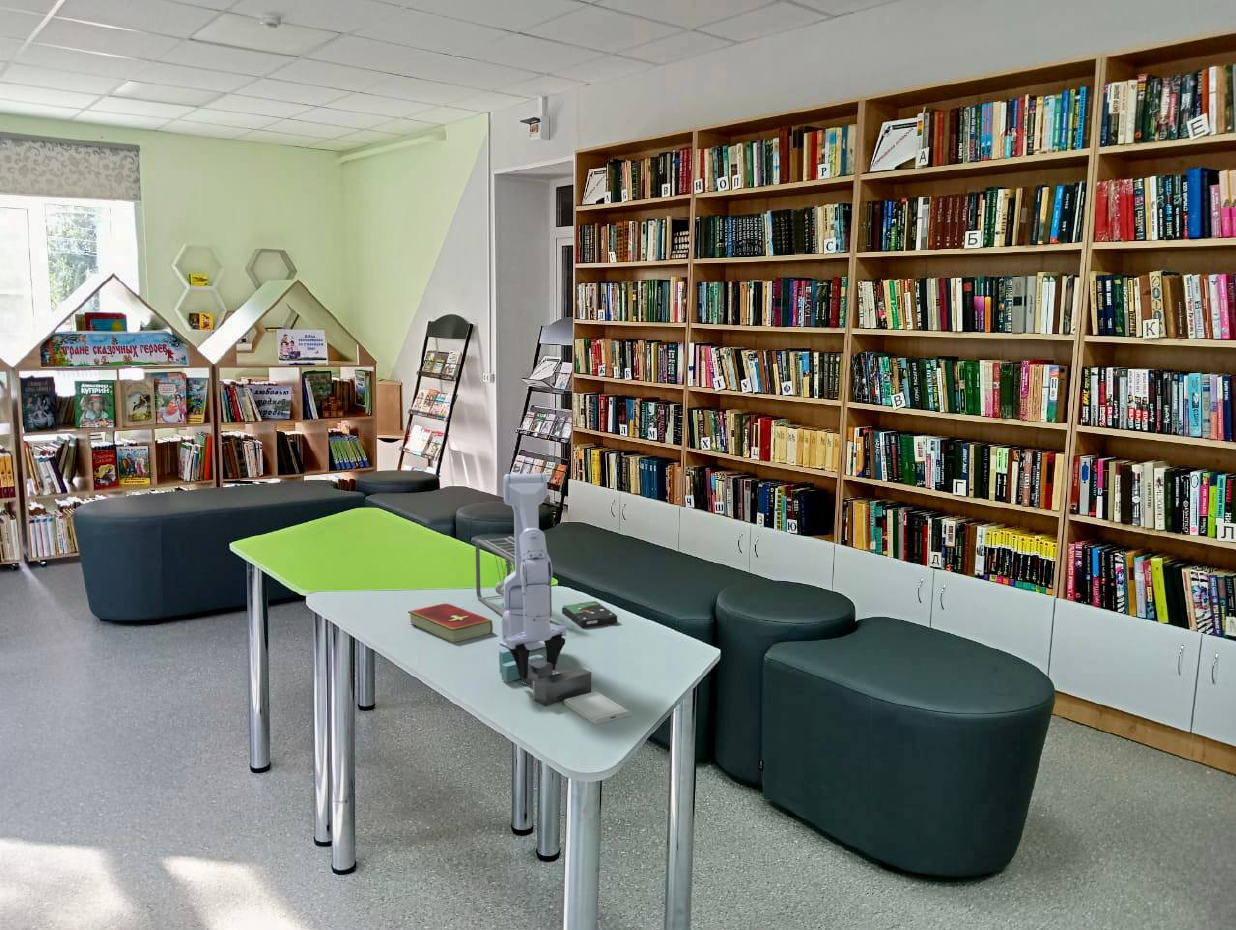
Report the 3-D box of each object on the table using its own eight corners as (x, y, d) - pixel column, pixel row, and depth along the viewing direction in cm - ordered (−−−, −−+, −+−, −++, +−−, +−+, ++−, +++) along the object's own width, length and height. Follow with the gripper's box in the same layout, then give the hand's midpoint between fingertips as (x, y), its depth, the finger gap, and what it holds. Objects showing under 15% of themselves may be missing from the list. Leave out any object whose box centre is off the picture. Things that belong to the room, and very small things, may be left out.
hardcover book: (447, 616, 263) (446, 601, 262) (492, 634, 247) (492, 618, 247) (408, 625, 255) (408, 610, 254) (453, 644, 239) (452, 628, 239)
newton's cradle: (476, 598, 278) (474, 538, 276) (510, 594, 283) (509, 534, 280) (515, 627, 252) (514, 560, 249) (552, 621, 257) (551, 556, 254)
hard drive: (563, 699, 201) (595, 719, 191) (597, 690, 205) (630, 709, 195) (563, 706, 201) (595, 727, 191) (597, 698, 206) (630, 717, 195)
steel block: (522, 682, 213) (521, 661, 212) (537, 678, 216) (536, 657, 215) (537, 690, 209) (537, 668, 208) (553, 686, 211) (552, 664, 210)
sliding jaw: (492, 674, 217) (491, 653, 216) (529, 664, 223) (528, 643, 223) (506, 682, 212) (506, 660, 212) (544, 671, 219) (543, 650, 218)
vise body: (529, 697, 204) (528, 677, 204) (574, 684, 212) (574, 664, 211) (545, 706, 200) (545, 685, 199) (591, 692, 207) (591, 672, 207)
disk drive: (618, 625, 255) (595, 609, 269) (618, 615, 255) (595, 600, 268) (581, 630, 251) (560, 614, 264) (581, 620, 251) (560, 604, 264)
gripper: (519, 624, 202) (520, 686, 204) (574, 611, 211) (574, 670, 213) (500, 616, 208) (501, 677, 210) (555, 603, 217) (555, 662, 219)
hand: (537, 673), depth 212 cm, fingers open, 7 cm apart
